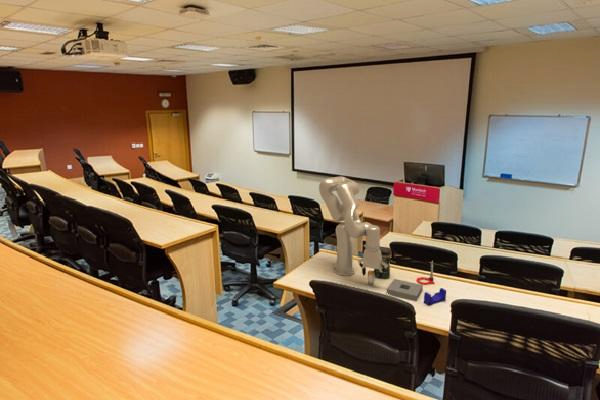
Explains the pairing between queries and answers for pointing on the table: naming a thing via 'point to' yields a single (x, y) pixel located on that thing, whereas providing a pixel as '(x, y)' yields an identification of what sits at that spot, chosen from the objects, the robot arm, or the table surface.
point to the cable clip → (435, 297)
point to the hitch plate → (405, 289)
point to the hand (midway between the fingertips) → (372, 276)
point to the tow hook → (427, 278)
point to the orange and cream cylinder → (371, 278)
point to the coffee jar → (385, 258)
